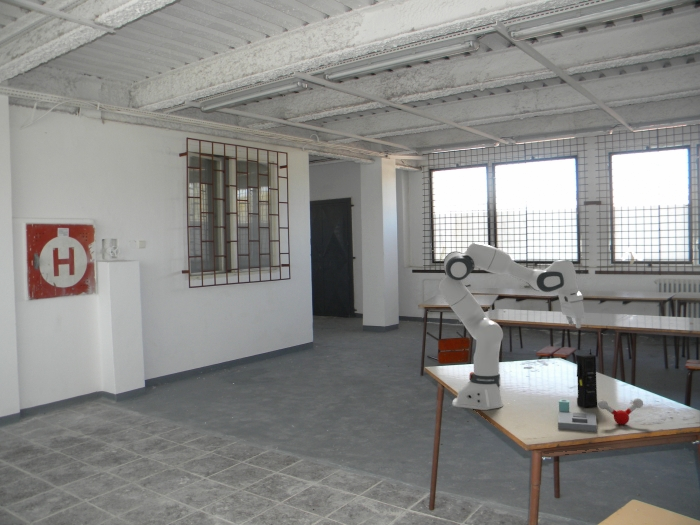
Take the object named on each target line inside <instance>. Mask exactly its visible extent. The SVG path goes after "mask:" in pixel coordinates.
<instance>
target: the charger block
mask: <svg viewBox="0 0 700 525" xmlns="http://www.w3.org/2000/svg"><path fill="white" fill-rule="evenodd" d="M559 411H564V412H570V400H569V399H562V398H561V399H558V412H559Z"/></svg>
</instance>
